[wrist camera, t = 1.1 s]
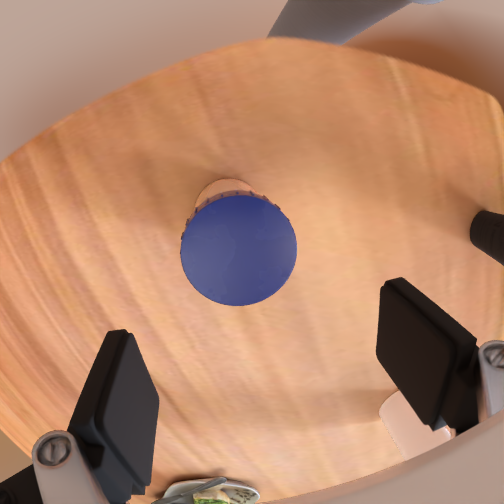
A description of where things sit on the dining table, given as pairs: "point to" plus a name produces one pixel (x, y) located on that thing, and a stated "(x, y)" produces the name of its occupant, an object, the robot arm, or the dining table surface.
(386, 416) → the cylindrical container
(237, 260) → the lid
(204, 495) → the salad plate
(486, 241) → the drinking cup
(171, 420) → the dining table surface
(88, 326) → the dining table surface
